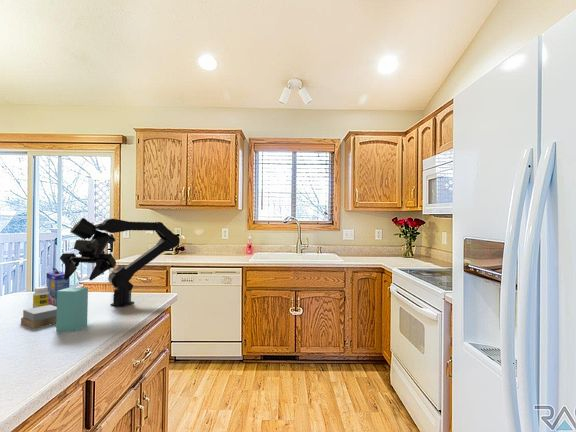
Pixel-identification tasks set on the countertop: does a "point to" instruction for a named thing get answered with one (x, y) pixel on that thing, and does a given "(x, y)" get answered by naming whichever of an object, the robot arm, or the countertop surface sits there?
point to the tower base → (38, 322)
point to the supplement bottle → (40, 297)
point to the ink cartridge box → (56, 284)
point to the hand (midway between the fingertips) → (77, 279)
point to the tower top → (40, 313)
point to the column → (72, 309)
